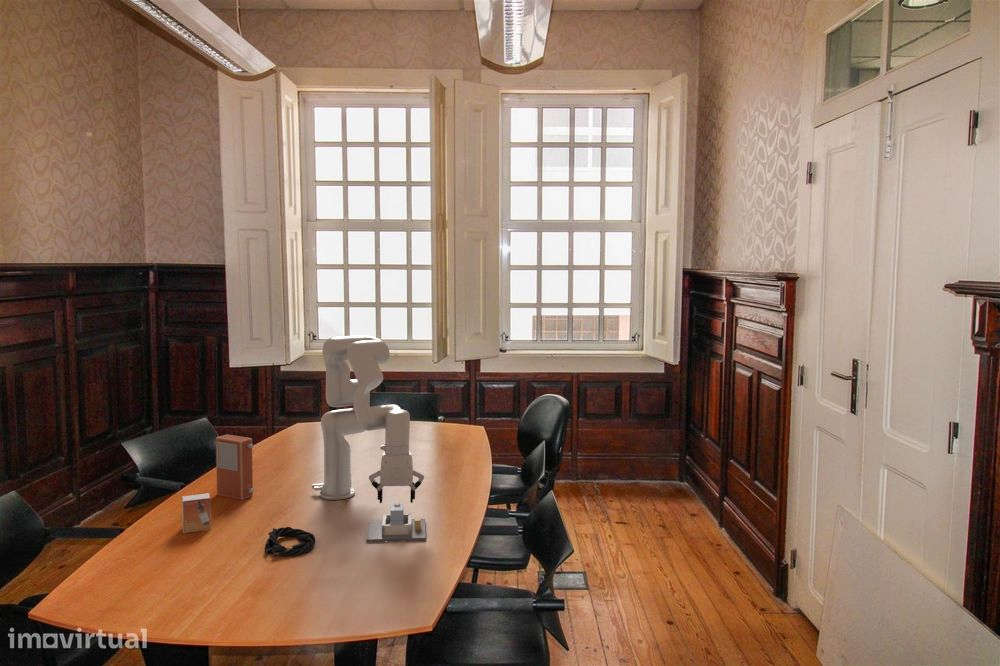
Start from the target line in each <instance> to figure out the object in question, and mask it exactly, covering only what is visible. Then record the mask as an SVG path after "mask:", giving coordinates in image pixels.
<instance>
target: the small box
mask: <svg viewBox="0 0 1000 666" xmlns="http://www.w3.org/2000/svg"><path fill="white" fill-rule="evenodd" d="M181 503H182V505H181V508H182V510H181V512H182V513H181V515H182V517H181V518H182V520H181V521H182V533H183V534H189V533H197V532H205V531H206V532H207V531H210V530H211V529H212V525H211V520H212V519H211V516H212V515H211V513H212V512H211V496H210V493H209V492H206V493H201V494H192V495H181Z"/></svg>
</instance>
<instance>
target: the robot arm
mask: <svg viewBox="0 0 1000 666" xmlns="http://www.w3.org/2000/svg"><path fill="white" fill-rule="evenodd" d="M321 352H322V357H323V362H324V365H325V400H326V403H327V405H328V406H329V407H332V408H341V407H348V406H353V407H352V408H343V409H342V408H341V409H335V410H334V409H333V410H330V411H327V412H326V413H324V414H323V415H322V416H321V420H320V427H321V432H322V438H323V439H322V440H323V476H324V477H323V482H320V483H312V484H311V489H312V490H313V491H320V492H319V497H320V498H321V499H323V500H328V501H329V500H330V501H339V500H345V499H346V500H347V499H348V498H352V497H353V496H354V495H355V494H356V490H355V489H354V488H353V487H352V486H351V483H352V482H351V481H352V480H351V479H352V478H351V477H352V475H351V468H352V467H351V465H352V464H351V457H352V456H351V452H352V451H351V445H350V444H349V442H348V441H347V440H346V438H345V436H349V435H354V434H361V433H364V432H366V431H368V432H369V431H370V432H371V431H376V430H377V431H378V430H384V429H385V430H384V432H385V433H384V435H385V437H384V438H385V439H384V441H385V442H384V444H383V445H381V444H380V450H381V451H384V452H383V453H382V455H381V460H380V470H378V471H376V472H374V473H372V474H369V475H368V480H369V482H370V483H371V485H372V486H373V488H374V489H376V492H377V501H379V504H382V503H383V490H384V489H383V488H384V487H410V497H409V498H410V503H412V504H413V502H414V501H413V500H416V490H417V489H418V488H419V487H420V486H422V482H423V481H424V479H425V474H423V473H420V472H418V471H417V470H414V465H413V461H414V460H413V455H412V452H411V451H410V426H411V425H410V422H411V421H410V420H411V416H410V412H409V411H408V410H405V409H403V408H402V407H400V406H399V405H398V404H394V403H393V404H385V405H384V404H383V405H375V406H370V405H371V404H370V403H371V402H370V401H371V400H370V399H371V396H370V395H371V394H370V393H371V391H372V390H375V389H376V388H377V387H379V386H380V384H381V383H382V382H383V381H384V375H383V372H382V370H381V368H380V366H379V365H383V364H386V363H387V362H388V361H389V360H390V348H389V346H388V344H387V343H386V342H385V341H383V340H382V339H380V338H377V337H374V336H371V335H346V336H345V335H344V336H334V337H330V338H327V339H326V340H324V343H323V345H322V351H321ZM347 361H349V363H350V365H351V368H352V371H353V373H354V376H355V378H354V379H351V368H350V365H349V363H348V362H347ZM378 477H379V483H378V482H377V481H376V478H378ZM414 477H416V478H418V480H417V481H416V482H414Z"/></svg>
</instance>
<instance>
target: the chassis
mask: <svg viewBox="0 0 1000 666" xmlns="http://www.w3.org/2000/svg"><path fill="white" fill-rule="evenodd" d="M382 515H383V516H382V519H370V520H369V524H368V529H367V534H366V539H365V543H366V542H372V543H386V542H385V541H388V542H387V543H390V542H389V541H404V542H426V541H427V539H426V538H427V537H426V536H427V534H426V532H427V530H426V518H422V517H421V516H415V517H414V518H412V516H413V515H412V512H411V513H409V512H407V513H404V517H403V525H392V526H390V513H384V514H382Z"/></svg>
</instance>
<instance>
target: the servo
mask: <svg viewBox="0 0 1000 666" xmlns="http://www.w3.org/2000/svg"><path fill="white" fill-rule="evenodd" d="M404 507H405V505H404V503H399V502H398V503H397V502H396V503H391V504H390V513H389V514H390V526H392V525H403V517H404V514H405V512H404Z"/></svg>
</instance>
